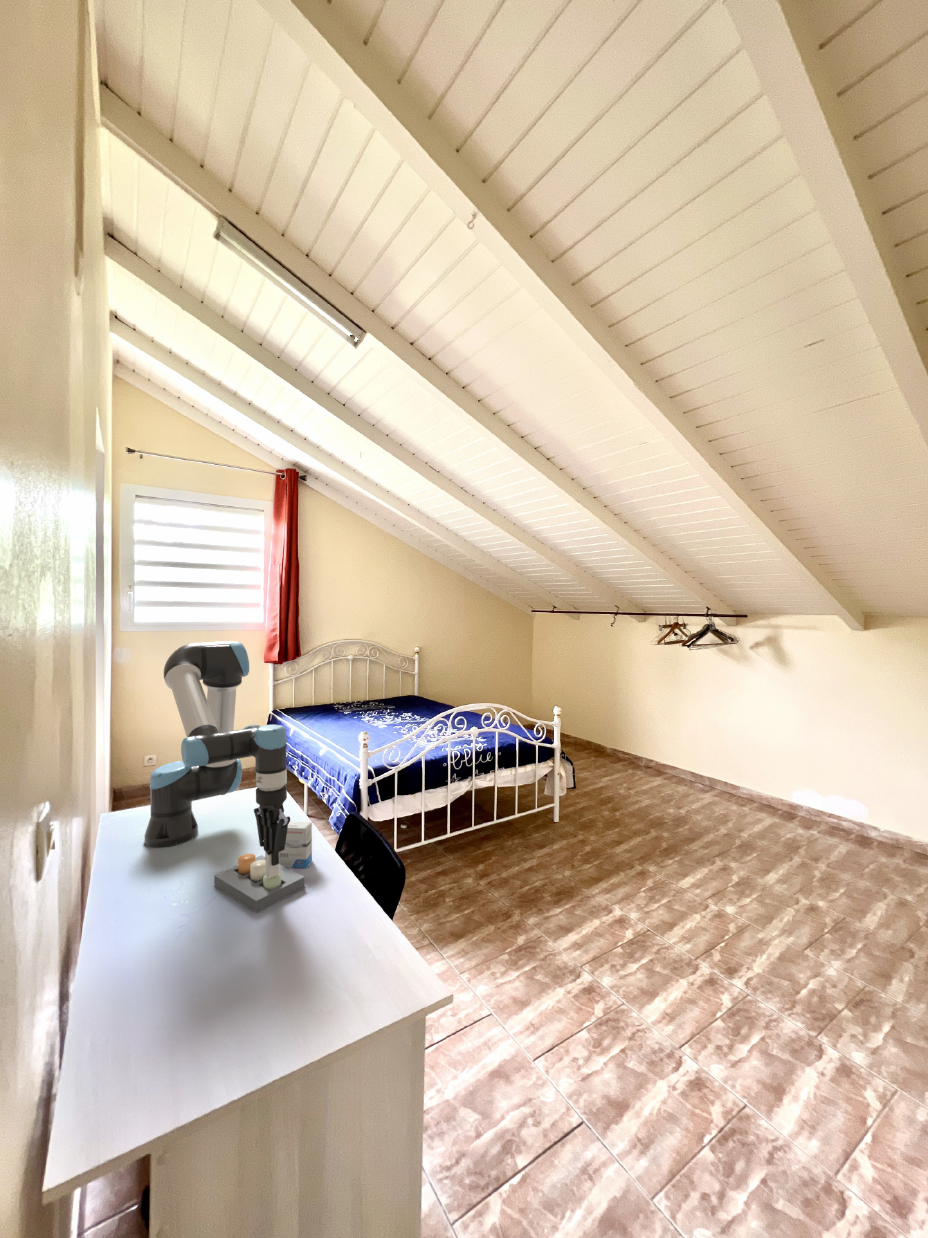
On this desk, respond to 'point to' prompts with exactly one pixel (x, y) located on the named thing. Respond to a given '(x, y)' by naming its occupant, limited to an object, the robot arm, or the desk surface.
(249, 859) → the orange button
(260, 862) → the cream button
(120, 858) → the desk surface
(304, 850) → the ink box
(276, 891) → the panel
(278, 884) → the green button
